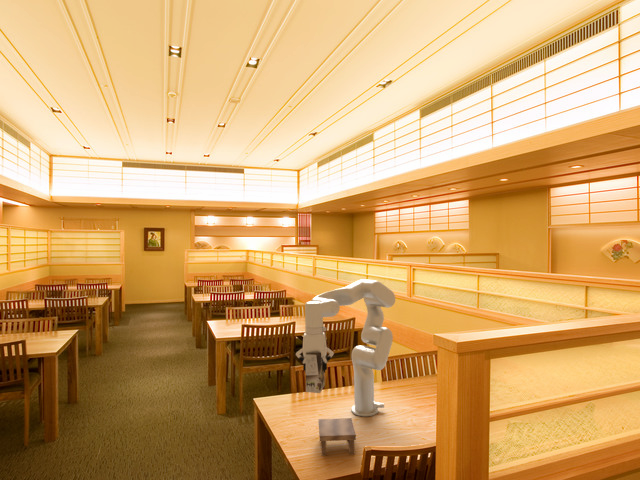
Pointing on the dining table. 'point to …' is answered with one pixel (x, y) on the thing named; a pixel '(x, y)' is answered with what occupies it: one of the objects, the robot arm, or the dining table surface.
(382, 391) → the dining table surface
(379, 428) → the dining table surface
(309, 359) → the coffee box
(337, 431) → the stool
